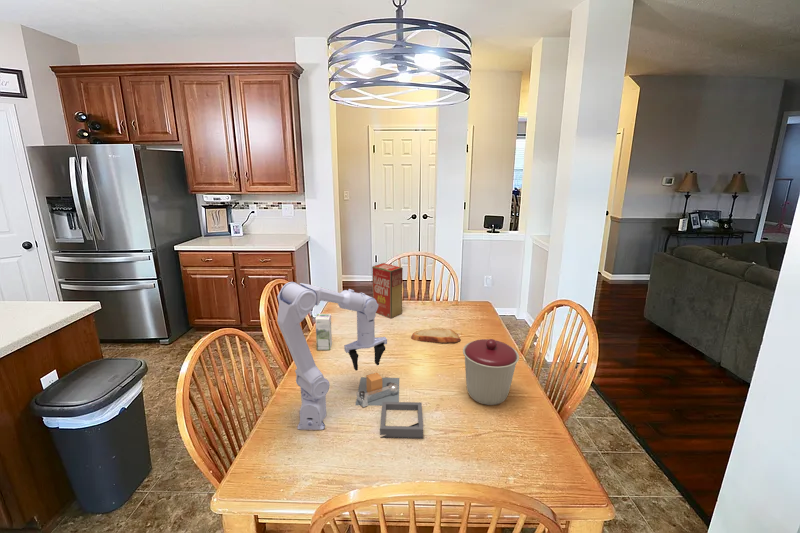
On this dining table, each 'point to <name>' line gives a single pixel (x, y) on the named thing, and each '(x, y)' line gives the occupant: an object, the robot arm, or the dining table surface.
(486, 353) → the canister
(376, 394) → the crank
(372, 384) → the block
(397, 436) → the tray
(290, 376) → the dining table surface
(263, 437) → the dining table surface
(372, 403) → the crank board
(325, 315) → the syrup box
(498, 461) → the dining table surface
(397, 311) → the food packaging
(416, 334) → the slice of bread
